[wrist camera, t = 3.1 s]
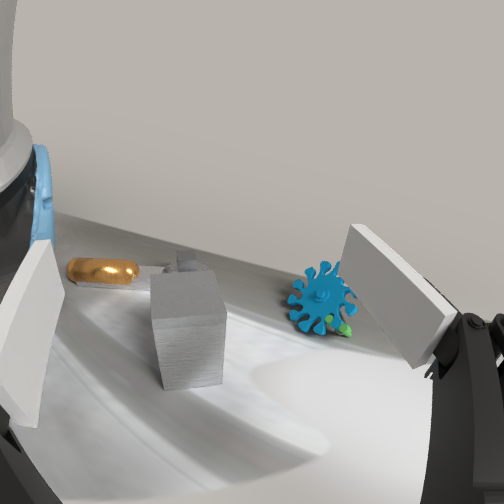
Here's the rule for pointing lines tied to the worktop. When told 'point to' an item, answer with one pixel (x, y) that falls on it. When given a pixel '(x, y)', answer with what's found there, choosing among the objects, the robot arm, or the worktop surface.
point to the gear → (323, 301)
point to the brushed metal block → (188, 328)
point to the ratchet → (126, 271)
